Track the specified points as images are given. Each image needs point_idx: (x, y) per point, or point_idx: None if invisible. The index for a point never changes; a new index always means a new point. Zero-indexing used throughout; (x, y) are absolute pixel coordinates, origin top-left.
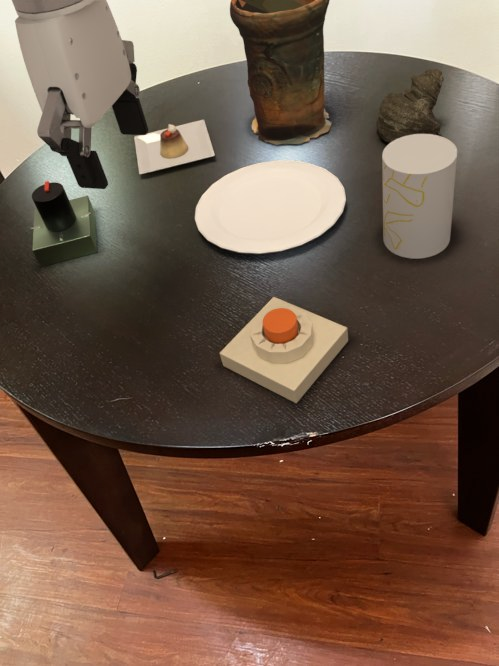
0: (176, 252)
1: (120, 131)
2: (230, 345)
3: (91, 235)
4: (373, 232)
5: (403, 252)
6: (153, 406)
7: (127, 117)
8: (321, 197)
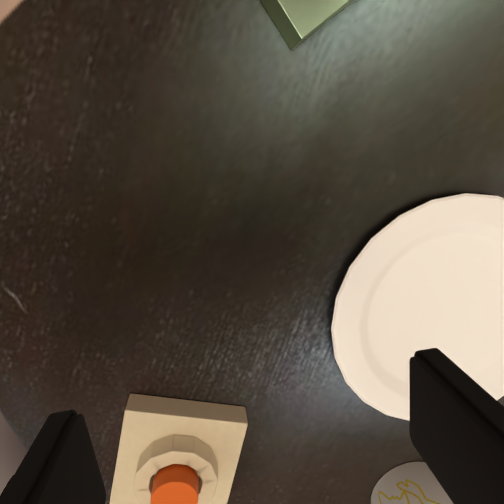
0: (323, 210)
1: (415, 361)
2: (143, 416)
3: (309, 33)
4: (412, 450)
5: (374, 501)
6: (28, 347)
7: (454, 450)
8: (474, 376)
